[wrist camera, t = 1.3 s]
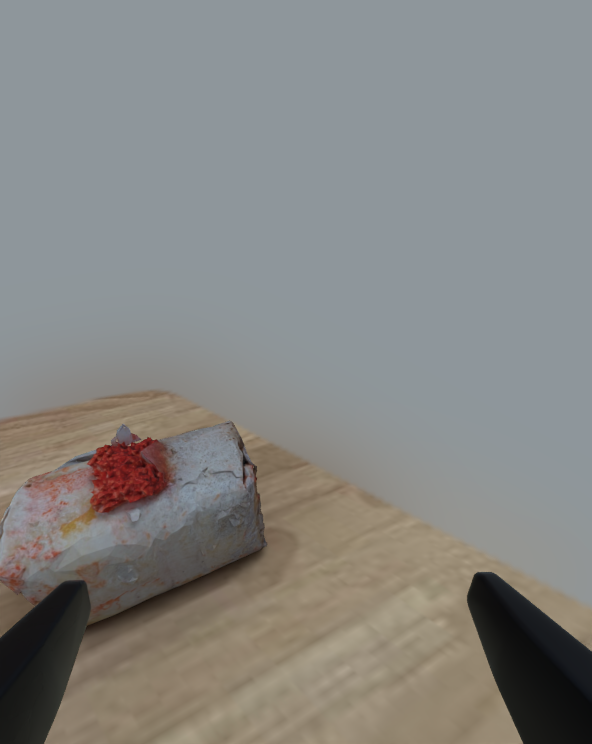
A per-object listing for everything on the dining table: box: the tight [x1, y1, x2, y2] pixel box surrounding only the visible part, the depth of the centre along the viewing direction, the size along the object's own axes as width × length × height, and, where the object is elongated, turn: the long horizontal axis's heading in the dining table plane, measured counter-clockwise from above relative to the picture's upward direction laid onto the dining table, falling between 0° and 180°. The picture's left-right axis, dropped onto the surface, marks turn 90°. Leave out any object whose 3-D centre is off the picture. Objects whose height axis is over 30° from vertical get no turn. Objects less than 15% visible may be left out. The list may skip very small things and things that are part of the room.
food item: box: [0, 421, 267, 626], centre depth 22 cm, size 14×8×10 cm, turn 115°
